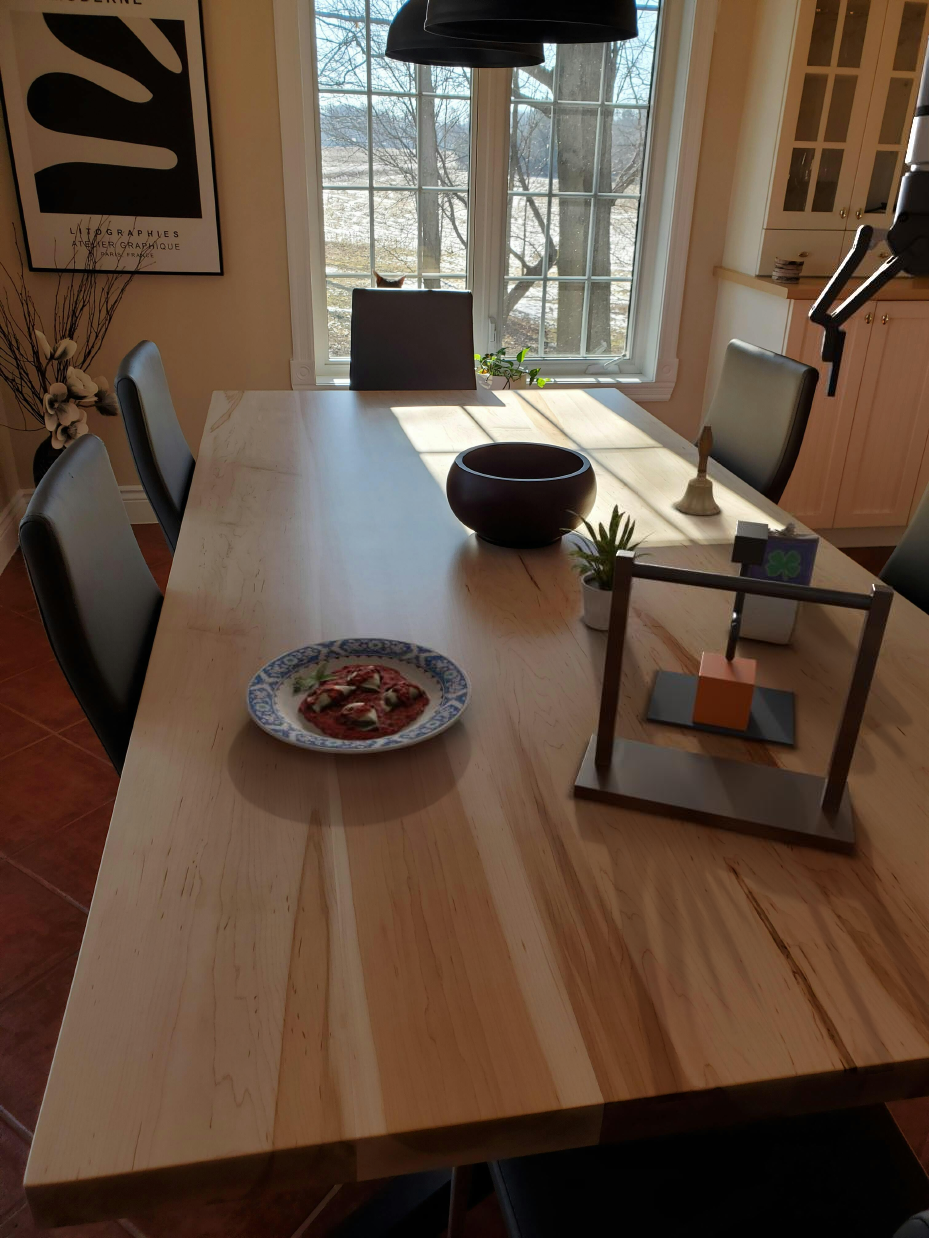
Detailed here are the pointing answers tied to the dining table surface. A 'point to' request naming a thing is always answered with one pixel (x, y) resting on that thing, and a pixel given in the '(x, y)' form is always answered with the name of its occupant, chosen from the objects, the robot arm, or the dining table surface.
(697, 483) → the hand bell
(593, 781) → the rack
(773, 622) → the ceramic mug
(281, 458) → the dining table surface
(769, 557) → the flask
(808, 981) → the dining table surface
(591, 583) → the house plant
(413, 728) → the ceramic plate
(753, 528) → the orange block with hook
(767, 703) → the mat
